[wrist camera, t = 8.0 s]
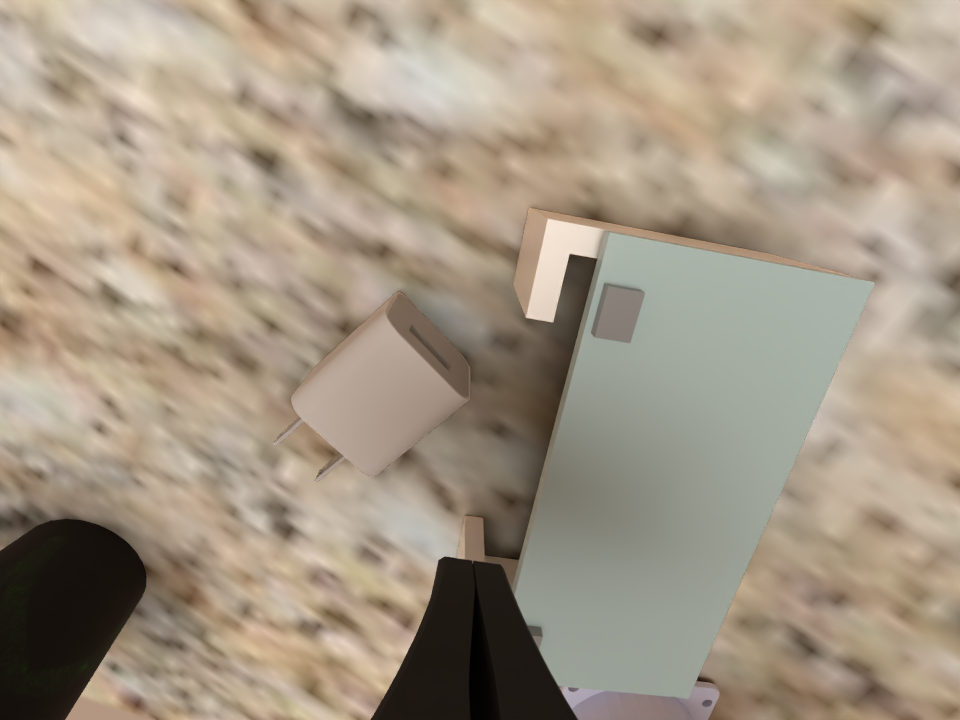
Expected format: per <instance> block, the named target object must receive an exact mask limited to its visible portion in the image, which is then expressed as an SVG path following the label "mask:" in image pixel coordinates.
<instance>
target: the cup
mask: <svg viewBox="0 0 960 720" xmlns="http://www.w3.org/2000/svg"><path fill="white" fill-rule="evenodd" d="M145 588H146V574H145V570H144V566H143V563H142V562H141V560H140V558H139V557H138V555H137V553H136V552H135V551H134V550H133V549H132V547H131V546H130V545H129V544H128V543H127V542H126V541H124V540H123V539H122V538H120V537H119V536H117V535H116V534H115V533H113V532H111V531H109V530H107V529H105V528H103V527H101V526H99V525H96V524H92V523H88V522H85V521H79V520H68V519H64V520H55V521H49V522H47V523H44V524H41V525H38V526H36V527H35V528H33V529H32V530H30V531H29V532H28V533H26V534H25V535H23V536H22V537H20V538H19V539H17V540H16V541H14V542H13V543H11V544H10V545H8V546H7V547H6V548H4V549H3V550H1V551H0V720H65V719H66V717H67V716H68V714H69V713H70V711H71V709H72V708H73V706H74V704H75V703H76V701H77V700H78V698H79V697H80V695H81V693H82V692H83V690H84V689H85V687H86V685H87V684H88V682H89V681H90V679H91V677H92V676H93V674H94V673H95V671H96V669H97V668H98V666H99V665H100V663H101V661H102V660H103V658H104V657H105V655H106V653H107V652H108V650H109V649H110V647H111V645H112V644H113V642H114V641H115V639H116V637H117V636H118V634H119V633H120V631H121V629H122V628H123V626H124V625H125V623H126V621H127V620H128V618H129V617H130V615H131V613H132V612H133V610H134V609H135V607H136V605H137V604H138V602H139V601H140V599H141V597H142V595H143V593H144V590H145Z"/></svg>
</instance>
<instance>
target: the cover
mask: <svg viewBox="0 0 960 720" xmlns="http://www.w3.org/2000/svg"><path fill="white" fill-rule="evenodd" d="M874 284H875V282H872V281H868V280H864V279H860V278H855V277H850V276H844V275H839V274H834V273H828V272H823V271H818V270H813V269H807V268H802V267H797V266H791V265H786V264H781V263H775V262H770V261H765V260H760V259H754V258H749V257H744V256H738V255H733V254H728V253H723V252H717V251H712V250H707V249H701V248H696V247H691V246H685V245H680V244H675V243H670V242H664V241H659V240H654V239H648V238H643V237H638V236H633V235H627V234H622V233H617V232H611V231H606V230H605V232H604V235H603V239H602V243H601V247H600V251H599V255H598V259H597V262H596V266H595V270H594V274H593V278H592V282H591V286H590V289H589V293H588V297H587V301H586V305H585V309H584V312H583V316H582V320H581V324H580V328H579V332H578V336H577V339H576V343H575V347H574V351H573V355H572V359H571V363H570V366H569V370H568V374H567V378H566V382H565V386H564V390H563V393H562V397H561V401H560V405H559V409H558V413H557V416H556V420H555V424H554V428H553V432H552V436H551V440H550V443H549V447H548V451H547V455H546V459H545V463H544V467H543V470H542V474H541V478H540V482H539V486H538V490H537V494H536V497H535V501H534V505H533V509H532V513H531V517H530V520H529V524H528V528H527V532H526V536H525V540H524V544H523V547H522V551H521V555H520V559H519V563H518V567H517V571H516V574H515V578H514V582H513V586H512V592H513V594H514V596H515V599H516V601H517V604H518V606H519V608H520V611H521V613H522V615H523V617H524V620H525V622H526V624H527V626H528V628H529V630H530V632H531V634H532V637H533V639H534V641H535V643H536V645H537V647H538V649H539V651H540V653H541V655H542V657H543V659H544V661H545V663H546V664H547V666H548V668H549V670H550V672H551V674H552V676H553V677H554V679H555V681H556V683H557V685H558V686H562V687H572V688H582V689H593V690H603V691H614V692H624V693H635V694H645V695H656V696H666V697H677V698H687V699H688V698H689V696H690V694H691V691H692V689H693V687H694V685H695V683H696V680H697V678H698V676H699V674H700V671H701V669H702V667H703V665H704V663H705V660H706V658H707V656H708V654H709V651H710V649H711V647H712V645H713V643H714V640H715V638H716V636H717V634H718V631H719V629H720V627H721V625H722V622H723V620H724V618H725V616H726V614H727V611H728V609H729V607H730V605H731V602H732V600H733V598H734V596H735V594H736V591H737V589H738V587H739V585H740V582H741V580H742V578H743V576H744V574H745V571H746V569H747V567H748V565H749V562H750V560H751V558H752V556H753V553H754V551H755V549H756V547H757V545H758V542H759V540H760V538H761V536H762V533H763V531H764V529H765V527H766V525H767V522H768V520H769V518H770V516H771V513H772V511H773V509H774V507H775V505H776V502H777V500H778V498H779V496H780V493H781V491H782V489H783V487H784V485H785V482H786V480H787V478H788V476H789V473H790V471H791V469H792V467H793V464H794V462H795V460H796V458H797V456H798V453H799V451H800V449H801V447H802V444H803V442H804V440H805V438H806V436H807V433H808V431H809V429H810V427H811V424H812V422H813V420H814V418H815V416H816V413H817V411H818V409H819V407H820V404H821V402H822V400H823V398H824V395H825V393H826V391H827V389H828V387H829V384H830V382H831V380H832V378H833V375H834V373H835V371H836V369H837V367H838V364H839V362H840V360H841V358H842V355H843V353H844V351H845V349H846V347H847V344H848V342H849V340H850V338H851V335H852V333H853V331H854V329H855V327H856V324H857V322H858V320H859V318H860V315H861V313H862V311H863V309H864V306H865V304H866V302H867V300H868V298H869V295H870V293H871V291H872V289H873V286H874Z"/></svg>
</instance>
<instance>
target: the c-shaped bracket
mask: <svg viewBox="0 0 960 720" xmlns="http://www.w3.org/2000/svg"><path fill="white" fill-rule="evenodd" d="M605 230H606V231H611V232H617V233H622V234H627V235H633V236H638V237H643V238H648V239H654V240H659V241H664V242H670V243H675V244H680V245H685V246H691V247H696V248H701V249H707V250H712V251H717V252H723V253H728V254H733V255H738V256H744V257H749V258H754V259H760V260H765V261H770V262H775V263H781V264H786V265H791V266H797V267H802V268H807V269H813V270H818V271H823V272H828V273H834V274H839V275H844V276H850V275H846V274H842V273H839V272H835V271H831V270H828V269H824V268H820V267H816V266H813V265H809V264H805V263H802V262H798V261H794V260H791V259H787V258H783V257H780V256H776V255H772V254H769V253H764V252H759V251H753V250H748V249H743V248H738V247H732V246H727V245H722V244H717V243H712V242H706V241H701V240H696V239H691V238H685V237H680V236H675V235H670V234H665V233H659V232H654V231H649V230H644V229H638V228H633V227H628V226H623V225H618V224H612V223H607V222H602V221H597V220H591V219H586V218H581V217H576V216H571V215H565V214H560V213H555V212H550V211H544V210H539V209H534V208H529V210H528V215H527V219H526V224H525V229H524V234H523V239H522V243H521V248H520V253H519V258H518V263H517V268H516V272H515V277H514V282H513V286H514V289H515V291H516V294H517V296H518V299H519V301H520V304H521V306H522V309H523V311H524V314H525V316H526V318H530V319H536V320H542V321H548V322H553V321H554V316H555V312H556V308H557V304H558V300H559V296H560V291H561V287H562V283H563V279H564V275H565V271H566V267H567V262H568V258H569V254H575V255H580V256H585V257H591V258H596V259H598V255H599V251H600V247H601V243H602V239H603V235H604V232H605ZM850 277H853V276H850ZM855 278H857V277H855ZM456 558H458V559H466V560H472V564H473V561H480V562H487V563H494V564H501V566H502V567H503V568H504V570H505V573H506V576H507V579H508V581H509V584H510V586H511V589H512V586H513V582H514V578H515V574H516V571H517V567H518V563H519V560H516V559H508V558H501V557H493V556H486V555H485V554H484V530H483V518H481V517H474V516H466V515H465V518H464V523H463V528H462V533H461V537H460V542H459V547H458V552H457V557H456Z"/></svg>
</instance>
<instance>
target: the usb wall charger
mask: <svg viewBox="0 0 960 720" xmlns="http://www.w3.org/2000/svg"><path fill="white" fill-rule="evenodd" d="M470 399H471V369H470V366H469V364H468V362H467V361H466V359H465V358H464V356H463V355H462V354H461V353H460V352H459V351H458V350H457V349H456V348H455V347H454V346H453V345H452V343H451V342H450V341H449V340H448V339H447V338H446V337H445V336H444V335H443V334H442V333H441V332H440V331H439V330H438V329H437V328H436V327H435V326H434V325H433V324H432V322H431V321H430V320H429V319H428V318H427V317H426V316H425V315H424V314H423V313H422V312H421V311H420V310H419V309H418V308H417V307H416V306H415V305H414V304H413V303H412V301H411V300H410V299H409V298H408V297H406V296H405V295H404V294H402V293H400V292H396V293H395V294H394V295H393V296H392V297H391V298H390V299H389V300H387V301H386V302H385V303H384V304H383V305H382V306H381V307H380V308H379V309H378V310H377V311H375V312H374V313H373V314H372V315H371V316H370V317H369V318H368V319H367V320H366V321H364V322H363V323H362V324H361V325H360V326H359V327H358V328H357V329H356V330H355V331H353V332H352V333H351V334H350V335H349V336H348V337H347V338H346V339H345V340H344V341H343V342H341V343H340V344H339V345H338V346H337V347H336V348H335V349H334V350H333V351H332V352H330V353H329V354H328V355H327V356H326V357H325V358H324V359H323V360H322V361H321V362H319V363H318V364H317V365H316V366H315V367H314V368H313V370H312V371H311V372H310V373H309V375H308V376H307V377H306V378H305V380H304V381H303V382H302V383H301V385H300V386H299V387H298V388H297V390H296V391H295V392H294V394H293V395H292V397H291V402H292V406H293V408H294V410H295V412H296V413H297V414H298V416H299V418H298V419H296V420H295V421H294V422H293V423H292V424H291V425H290V426H289V427H288V428H287V429H285V430H284V431H283V432H282V433H281V434H280V435H279V436H278V438H277V439H276V440H275V442H274V443H273V446H277V445H278V444H279V443H280V442H281V441H283V440H284V439H285V438H286V437H287V436H288V435H290V434H291V433H292V432H293V431H294V430H295V429H296V428H297V427H299V426H300V425H301V424H302V423H303V422H306V423H307V424H308V425H309V426H310V427H311V428H312V429H314V430H315V431H316V432H317V433H318V434H319V435H320V436H321V437H323V438H324V439H325V440H326V441H327V442H328V443H329V444H330V445H332V446H333V447H334V448H335V449H336V450H337V451H338V452H339V454H338V455H337V456H335V457H334V458H333V459H332V460H331V461H330V462H329V463H327V464H326V465H325V466H324V467H323V468H322V469H321V470H320V471H319V473H318V475H317V477H316V479H315V481H316V482H318V481H319V480H321V479H322V478H323V477H324V476H326V475H327V474H328V473H329V472H331V471H332V470H333V469H334V468H336V467H337V466H338V465H339V464H340V463H342V462H343V461H344V460H345V459H347V460H348V461H350V462H351V463H352V464H353V465H354V466H355V467H356V468H357V469H359V470H360V471H361V472H362V473H364V474H366V475H368V476H372V477H373V476H376V475H378V474H379V473H380V472H381V471H383V470H384V469H385V468H386V467H388V466H389V465H390V464H391V463H392V462H394V461H395V460H396V459H397V458H399V457H400V456H401V455H402V454H404V453H405V452H406V451H407V450H408V449H410V448H411V447H412V446H413V445H415V444H416V443H417V442H418V441H420V440H421V439H422V438H423V437H424V436H426V435H427V434H428V433H429V432H431V431H432V430H433V429H434V428H435V427H437V426H438V425H439V424H440V423H442V422H443V421H444V420H445V419H447V418H448V417H449V416H450V415H451V414H453V413H454V412H455V411H456V410H458V409H459V408H460V407H461V406H462V405H464V404H465V403H466V402H467V401H469V400H470Z"/></svg>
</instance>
